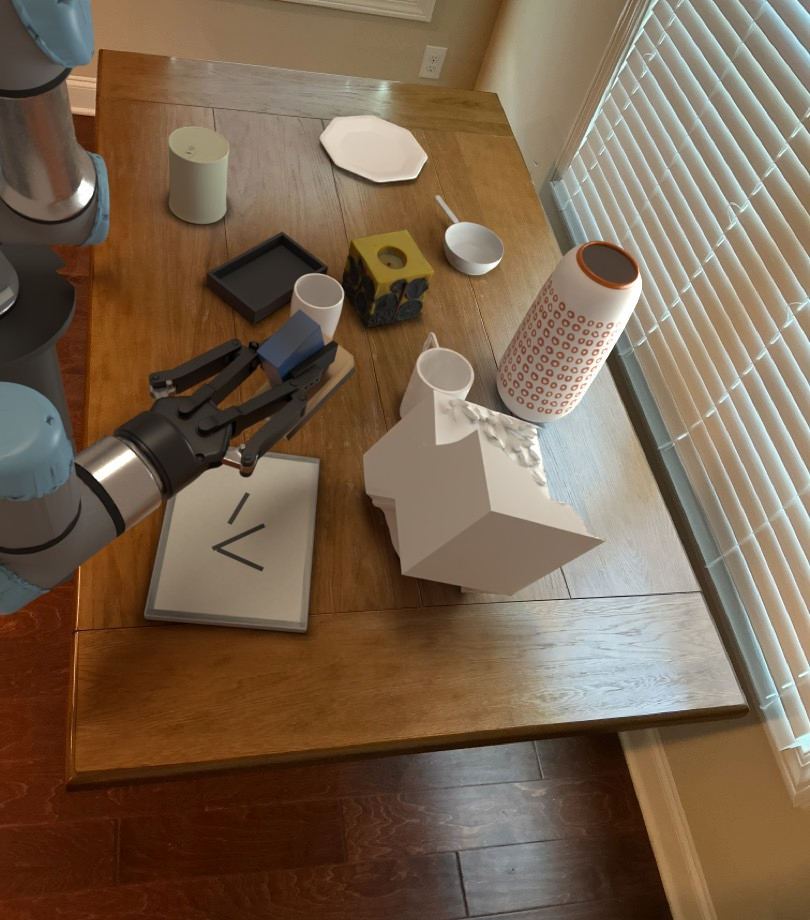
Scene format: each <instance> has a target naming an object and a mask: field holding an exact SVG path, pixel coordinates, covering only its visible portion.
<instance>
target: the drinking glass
mask: <svg viewBox="0 0 810 920" xmlns="http://www.w3.org/2000/svg"><path fill="white" fill-rule="evenodd" d="M344 299H345V292H344V290H343V288H342V286H341V283H340V282H338V281H337V280H336V279H335V278H333V277H331V276H329V275H328V274H327V275H324V274H318V273H312V274H306V275H304V276H302V277H300V278H299V279H298V280H297V281H296V283H295V285H294V290H293V294H292V300H291V301H290V306H289V307H290V309H289V319H290V318H291V317H292V316H293V315H294V314H295V313H296V312H297V311H298V310H299V309H300V310H301V311H303V312H304V313H305V314H306V315H308V316H309V317H310V318H312V319H313V320H314V321H315V322H317V323H318V324H319V325H320V326H321V331H322V332H323V333H325V334H326V335H327V336H328V337H330V338H331V339H332V340H333V338H334V335H335V332H336V330H337V327H338V324H339V321H340V318H341V314H342V309H343V305H344Z"/></svg>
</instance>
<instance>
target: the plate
mask: <svg viewBox="0 0 810 920" xmlns="http://www.w3.org/2000/svg"><path fill="white" fill-rule="evenodd" d="M318 139H319V142H320V144H321V145H322V147H323V148H324V150H325V152H326V153H327V155H328V156H329V159H331V161H332V163H333V165H334V166H336V167H337V168H339V169H340V170H343V171H346V172H348V173H351V174H352V175H355V176H358V177H360V178H362V179H365V180H367V181H369V182H372V183H375V184H384V183H385V184H386V183H394V182H403V181H404V182H405V181H412V180H415V179H417V178H418V175H419V174H420V172H421V170H422V168H423V167H424V165H425V163H426V162H427V160H428V154H427V153H426V151H425V150H424V149H423V147H422V146H421V145H420V143H419V142H418V140H417V139H416V137H414V135H413V134H412V132H411V131H410V130H408V129H407V128H404V127H402V126H400V125H397V124H395V123H392V122H389V121H387V120H385V119H383V118H380V117H377V116H375V115H372V114H367V115H366V114H365V115H349V116H336V117H334V118H332V120H331V121H330V122H329V123H328V124H327V126H326V128H325V129H324V130H323V131H322V133H321V134H320V135H319V137H318Z"/></svg>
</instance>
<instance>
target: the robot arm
mask: <svg viewBox="0 0 810 920" xmlns="http://www.w3.org/2000/svg"><path fill="white" fill-rule="evenodd" d="M92 13H93V12H92V6H91V0H0V245H47V246H74V247H79V248H81V247H82V248H83V247H85V246H96V245H101V244H103V243H104V242H105V241H106V239H107V238H108V234H109V229H110V206H111V205H110V187H109V178H108V171H107V170H108V169H107V165H106V163H105V160H104V158H103V157H102V156H101V155H100V154H98V153H93V152H90V151H88V150H87V151H86V150H85V148H84V147H83V146H82V145H81V144H80V143H79V142H78V141H77V136H76V130H75V124H74V123H75V122H74V117H73V112H72V106H71V101H70V95H69V90H68V88H69V87H68V84H67V79H68V78H69V77H70V76H71V74H72V72H73V70H74V68H77V67H83V66H87V65H89V64H90V63H91V61H92V60H93V58H94V54H95V31H94V22H93V14H92ZM19 297H20V284H19V280H18V276H17V274H16V272H15V270H14V267H13V266H12V264H11V263H10V262H9V261H8V260H7V258H6V257H5V255H4V254H3V253H2V251H1V250H0V319H2V318H3V317H5V316H6V315H7V314H8V313H10V312H11V311H12V309H13V308H14V307H15V305H16V304H17V302H18V300H19ZM271 336H272V335H270V336H268V337H267V338H266V339H264V340H262V341H261V342H259V341H256V340H250V341H249V342H248V345H244V344H243V343H242V341H241V339H238V338H231V339H229V340H227V341H225V342H223V343H221V344H219V345H217V346H214V347H213V348H211V349H209V350H207V351H205V352H203V353H201V354H199V355H197V356H195V357H193V358H191V359H190V360H187V361H186V362H183V363H182V364H179V365H177V366H175V367H173V368H172V369H165V370H160V371H155V372H151V373H149V374H148V389H149V396H150V397H151V398H152V399H153V400H154V402H153V403H152V405H151V407H150V409H149V410H143V411H141V412H140V413H138V414H137V415H135V416H133V417H132V418H130V419H129V420H127V421H126V422H124V423H122V424H121V425H119V426H118V427H117V428H115V429H114V430H113V433H112V435H103V436H102V437H100V438H99V439H97V440H96V441H94V442H92V443H90V445H88V446H87V447H84V449H82V450H81V451H79V452H77V454H76V455H75V456H73V450H72V445H71V441H69V440H68V439H67V437H66V433H65V430H64V427H63V424H62V421H61V418H60V415H59V413H58V411H57V409H56V408H55V407H54V405H53V404H52V403H51V402H50V401H49V400H48V399H47V398H46V397H45V396H43V395H42V394H40V393H39V392H37V391H36V390H34V389H31V388H29V387H26V386H24V385H20V384H16V383H10V382H0V615H1V616H8V615H12V614H14V613H17V612H18V611H19V610H21V609H22V608H24V607H26V605H28V604H29V603H32V602H33V601H34V600H36V599H37V598H39V597H41V596H42V595H45V594H48V593H50V592H51V591H50V590H51V589H52V587H53V586H54V585H56V584H57V583H58V582H60V581H61V580H62V579H64V578H65V577H66V576H68V575H69V574H70V573H71V572H73V571H74V570H75V569H77V568H78V567H79V566H81V567H82V565H84V564H85V563H86V562H87V561H89V560H90V559H92V557H94V556H95V555H96V554H98V553H99V552H100V551H101V550H103V549H104V548H106V547H107V546H108V545H110V544H111V543H112V542H113V541H115V540H117V538H119V537H120V536H122V535H123V534H124V533H126V532H127V531H129V530H130V529H132V528H133V527H134V526H135V525H137V524H138V523H139V522H141V521H142V520H143V519H145V518H146V517H148V516H149V515H150V514H152V513H153V512H154V511H155V510H157V509H159V508H160V506H161V505H162V501H168V500H169V499H171V498H172V497H173V496H175V495H176V494H177V493H179V492H180V491H181V490H183V489H184V488H185V487H187V486H188V485H189V484H191V483H192V482H193V481H195V480H196V479H197V478H198V477H199V476H200V475H201V474H203V473H204V472H205V471H207V470H210V469H214V468H218V467H220V466H222V465H223V464H224V465H227V466H230V467H233V468H236V469H239V473H240V475H241V476H242V477H245V478H247V477H250V476H251V475H252V473H253V471H254V469H255V467H256V464H257V462H258V460H259V459H260V458H261V457H262V456H263V455H264V454H265V453H266V452H269V451H270V450H271V449H272V448H273V447H274V446H275V445H276V444H277V443H278V442H279V441H280V440H281V439H282V438H284V437H283V436H284V435H285V434H286V433H287V432H289V431H290V430H291V429H292V428H293V427H294V426H295V425H296V424H297V423H298V422H299V421H300V420H301V419H302V418H303V417H304V416H305V413H306V408H307V404H308V396H307V395H305V394H304V393H305V392H306V391H308V390H309V389H310V388H311V387H313V386H314V385H316V384H317V383H318V382H319V380H320V377H321V373H322V370H324V369H325V368H326V367H328V366H329V365H330V364H332V363H333V362H334V361H335V357H336V353H337V348H338V344H339V343H337V342H336V340H334V339H332V341H331V342H329V343H328V344H327V345H325V346H324V347H323V348H321V349H320V350H318V351H317V352H316V353H314V354H313V355H311V356H310V357H308V358H307V359H306V360H304V361H303V362H301V363H300V364H298V365H297V366H296V367H294V368H293V369H291V370H290V371H289V372H288V378H287V381H286V382H284V383H282V384H280V385H278V386H276V387H274V388H272V389H270V390H268V391H266V392H264V393H262V394H260V395H258V396H256V397H254V398H252V399H250V398H249V399H250V400H249V399H248V400H247V401H244V402H242V403H240V404H239V405H234V404H233V405H231V406H228V407H227V408H225V409H222V408H220V407H218V406H219V405H220V404H221V403H222V402H224V401H225V399H227V398H228V396H230V395H231V394H232V393H233V392H234V391H235V390H236V389H237V388H238V387H240V386H241V385H242V384H243V383H244V382H245V381H246V380H247V379H248V378H250V377H251V376H252V374H254V373H255V372H256V371H257V370H258V367H259V368H260V369H261V370H262V371H264V368H263V366H262V364H261V361H260V359H259V357H258V354H257V352H256V351H257V350H258V349H259V348H260V347H261V346H262V345H263V344H264V343H265V342H266V341H267V340H268V339H269V338H270V337H271ZM210 378H212V379H211V380H210V381H209V382H208V383H207V382H205V381H207V380H208V379H210ZM203 382H205V383H203ZM199 384H202V385H201V386H199V387H198V388H197V389H196V390H195V391H194V392H193V393H191V394H190V395H179V394H181V393H184V392H186V391H188V390H190V389H192V388H193V387H196V386H197V385H199ZM277 412H278V413H277ZM275 413H277V414H276V415H275V416H273V417H272V418H271V419H270V420H269V421H268V422H267V423H266V422H265V424H263V425H262V426H261V427H260V428H259V429H258V430H257V431H256V432H255V433H254V434H253V435H251V437H250V438H249V439H248V441H247V442H246V444H245V443H240V444H239V445H238V446H236V447H235V448H236V449H235V450H232V451H228V448H229V447H230V444H231V441H232V440H234V439H236V438H237V437H239V436H240V435H241V434H242V433H243V431H245V430H246V429H249V428H251V427H253V426H255V425H257V424H258V423H260V422H261V421H264V419H265V418H267V417H269V416H271V415H273V414H275Z"/></svg>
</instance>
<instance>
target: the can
mask: <svg viewBox="0 0 810 920" xmlns="http://www.w3.org/2000/svg"><path fill="white" fill-rule="evenodd" d="M167 145H168V171H169V197H168V207H169V209H170V211H171V212H172V213H173V214H174V215H175V217H177V218H179V219H180V220H182V221H184V222H187V223H190V224H195V225H209V224H214V223H216V222H218V221H220V220H222V219H223V217H224V216H225V215H226V213H227V186H228V182H227V181H228V168H229V155H230V154H229V153H230V144H229V142H228V140H227V139H226V138H225V137H224V136H223V135H222V134H221V133H219V132H217V131H215V130H213V129H211V128H207V127H205V126H204V127H203V126H197V125H189V126H183V127H179V128H176V129H174V130H173V131H172V132H171V133H170V134H169V136H168V138H167Z"/></svg>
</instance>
